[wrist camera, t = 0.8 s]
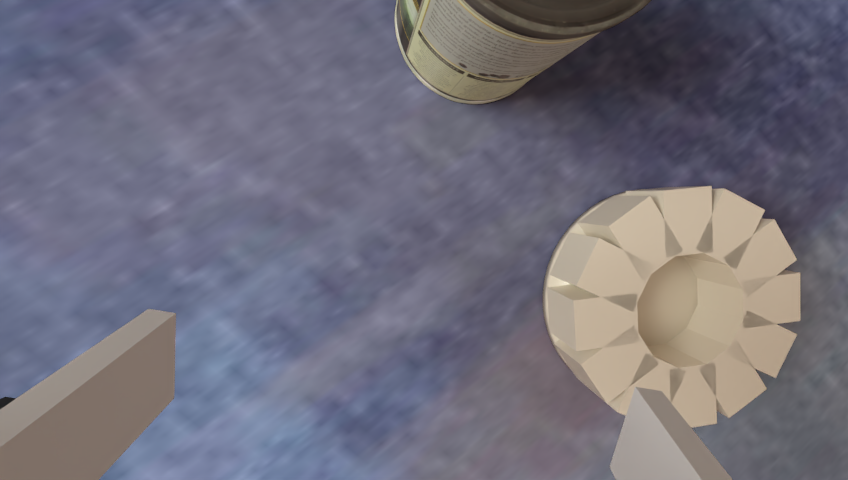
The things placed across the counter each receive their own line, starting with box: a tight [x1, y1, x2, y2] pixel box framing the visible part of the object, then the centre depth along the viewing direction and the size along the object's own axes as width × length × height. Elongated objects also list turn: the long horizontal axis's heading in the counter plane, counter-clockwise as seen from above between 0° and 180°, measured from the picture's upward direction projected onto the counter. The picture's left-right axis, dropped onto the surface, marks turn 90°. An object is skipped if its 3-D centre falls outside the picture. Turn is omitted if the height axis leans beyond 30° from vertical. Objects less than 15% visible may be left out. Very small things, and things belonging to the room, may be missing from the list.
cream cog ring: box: [543, 186, 800, 428], centre depth 31 cm, size 15×15×5 cm
